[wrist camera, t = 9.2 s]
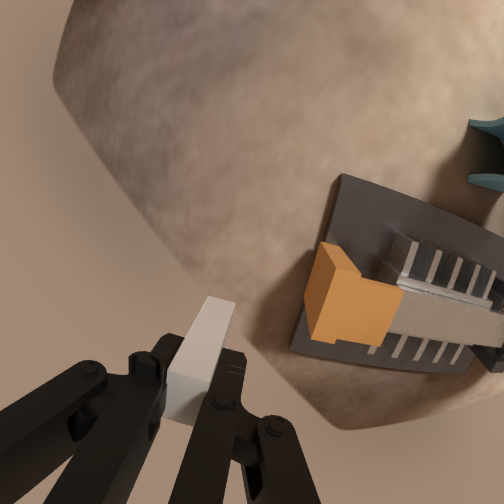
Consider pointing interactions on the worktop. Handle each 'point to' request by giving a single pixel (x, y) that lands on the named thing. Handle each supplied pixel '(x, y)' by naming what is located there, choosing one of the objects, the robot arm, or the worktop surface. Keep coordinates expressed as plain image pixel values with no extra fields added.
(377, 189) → the heatsink
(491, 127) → the vase
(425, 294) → the strap
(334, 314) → the lug slider
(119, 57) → the worktop surface
